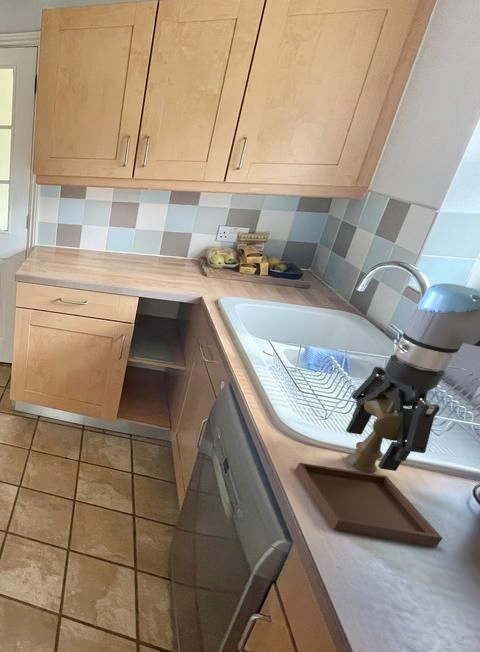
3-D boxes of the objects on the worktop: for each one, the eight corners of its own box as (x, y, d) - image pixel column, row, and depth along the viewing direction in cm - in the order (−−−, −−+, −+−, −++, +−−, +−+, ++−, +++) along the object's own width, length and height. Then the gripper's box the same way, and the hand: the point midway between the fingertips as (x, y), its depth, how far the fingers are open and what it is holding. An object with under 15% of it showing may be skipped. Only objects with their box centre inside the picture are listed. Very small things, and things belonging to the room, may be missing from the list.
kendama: (373, 458, 93) (415, 385, 85) (382, 487, 86) (429, 409, 78) (339, 447, 96) (376, 375, 88) (345, 474, 89) (386, 398, 81)
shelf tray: (381, 484, 86) (386, 475, 85) (436, 547, 74) (443, 538, 73) (294, 471, 89) (298, 462, 88) (333, 529, 77) (338, 520, 76)
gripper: (358, 332, 91) (320, 413, 100) (443, 394, 70) (385, 488, 80) (398, 336, 89) (355, 418, 99) (496, 400, 69) (431, 495, 78)
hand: (369, 449), depth 89 cm, fingers open, 10 cm apart
